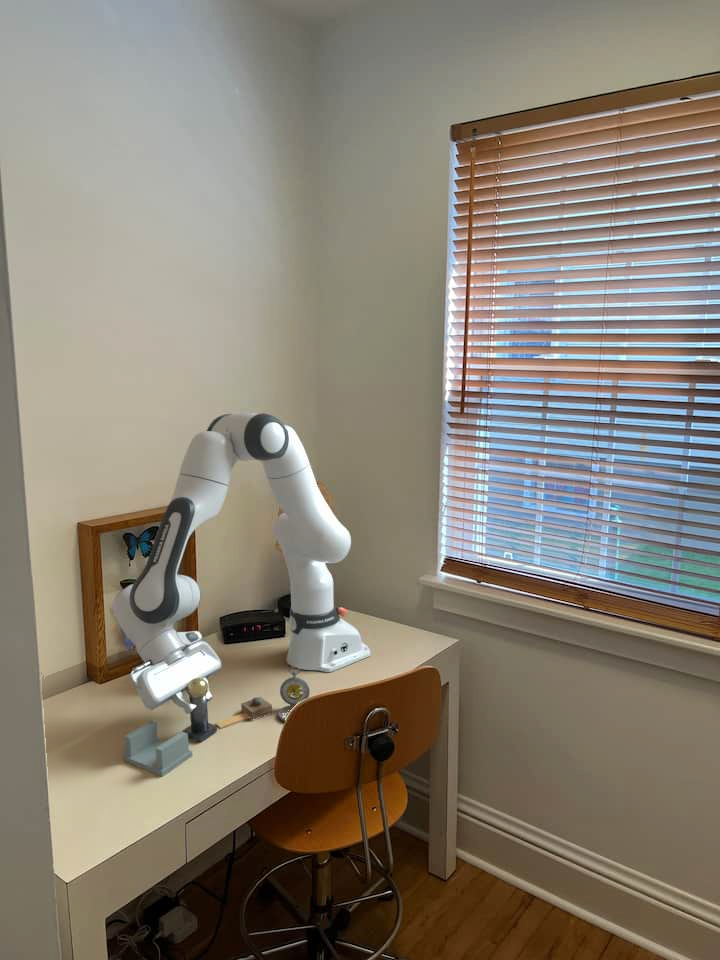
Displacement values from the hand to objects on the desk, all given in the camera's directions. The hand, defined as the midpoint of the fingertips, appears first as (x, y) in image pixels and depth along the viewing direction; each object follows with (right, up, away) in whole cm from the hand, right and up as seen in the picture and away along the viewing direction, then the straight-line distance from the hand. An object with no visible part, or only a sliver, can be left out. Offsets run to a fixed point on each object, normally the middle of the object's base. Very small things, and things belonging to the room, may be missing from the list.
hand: (200, 705), depth 145 cm
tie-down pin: (0, -6, +2) cm, 6 cm away
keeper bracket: (-7, -8, -7) cm, 13 cm away
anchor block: (+10, -5, +10) cm, 15 cm away
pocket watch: (+19, -5, +10) cm, 22 cm away
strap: (+6, -5, +7) cm, 11 cm away
